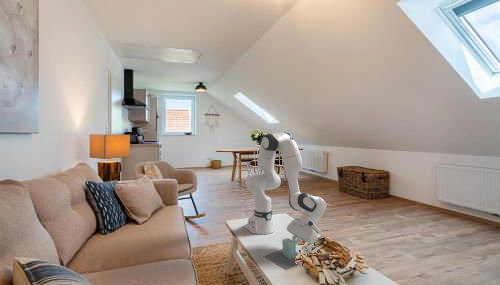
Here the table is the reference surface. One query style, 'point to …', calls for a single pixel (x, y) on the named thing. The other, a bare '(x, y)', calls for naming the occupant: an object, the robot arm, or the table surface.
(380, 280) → the table surface
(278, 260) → the mat
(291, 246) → the box
